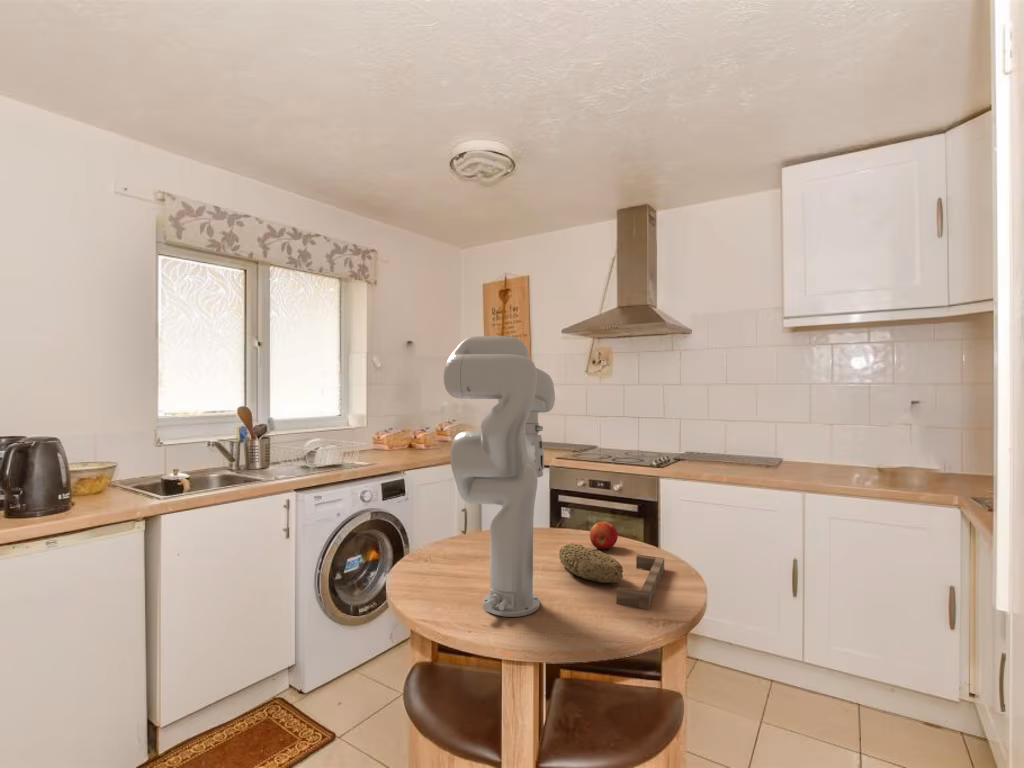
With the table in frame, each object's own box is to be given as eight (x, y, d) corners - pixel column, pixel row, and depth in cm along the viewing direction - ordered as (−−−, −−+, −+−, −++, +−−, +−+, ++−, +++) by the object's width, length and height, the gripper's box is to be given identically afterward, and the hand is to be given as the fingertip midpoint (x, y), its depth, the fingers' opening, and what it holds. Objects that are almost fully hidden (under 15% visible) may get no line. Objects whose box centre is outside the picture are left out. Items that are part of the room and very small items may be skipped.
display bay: (648, 609, 110) (648, 595, 110) (616, 603, 113) (616, 590, 113) (664, 569, 135) (664, 558, 135) (637, 565, 138) (637, 554, 138)
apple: (620, 547, 154) (620, 521, 154) (610, 555, 147) (610, 527, 147) (596, 543, 158) (596, 517, 158) (585, 550, 151) (585, 523, 151)
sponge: (553, 569, 138) (574, 581, 119) (557, 540, 140) (578, 546, 121) (599, 576, 140) (627, 588, 121) (602, 547, 142) (630, 554, 123)
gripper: (554, 429, 138) (554, 497, 138) (504, 427, 144) (504, 492, 144) (545, 431, 131) (545, 503, 131) (493, 429, 137) (492, 497, 137)
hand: (523, 497), depth 137 cm, fingers closed
